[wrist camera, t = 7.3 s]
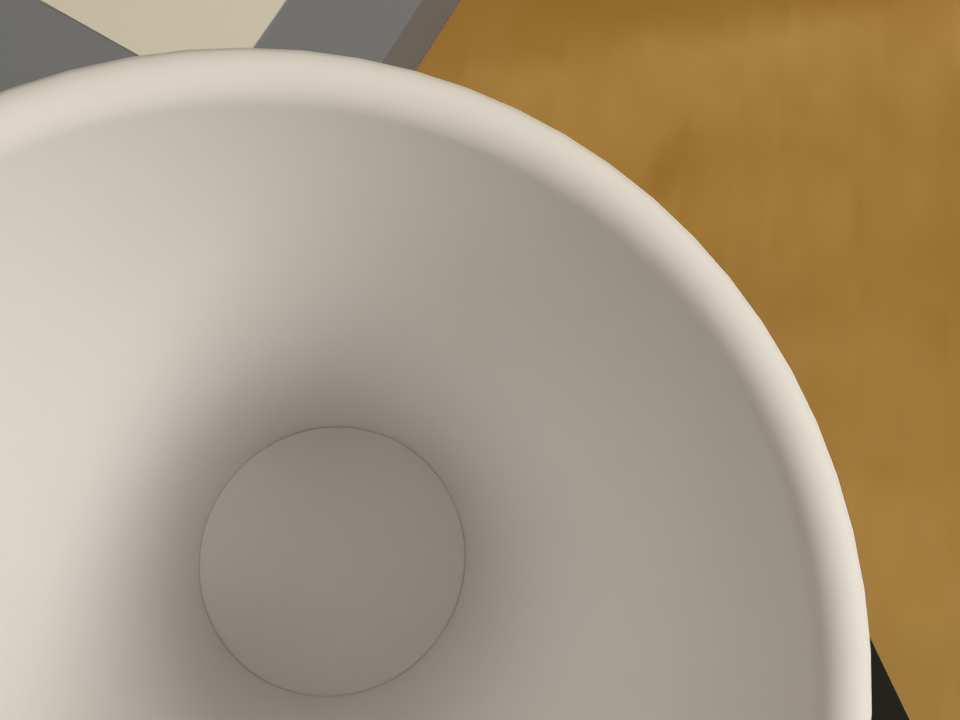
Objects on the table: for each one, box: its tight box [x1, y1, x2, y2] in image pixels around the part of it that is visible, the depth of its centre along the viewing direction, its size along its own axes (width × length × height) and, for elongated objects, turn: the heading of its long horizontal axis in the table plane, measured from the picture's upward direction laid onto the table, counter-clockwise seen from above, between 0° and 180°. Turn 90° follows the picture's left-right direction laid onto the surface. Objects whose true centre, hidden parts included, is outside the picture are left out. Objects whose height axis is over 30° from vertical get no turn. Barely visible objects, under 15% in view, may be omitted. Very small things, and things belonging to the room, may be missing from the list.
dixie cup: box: [0, 48, 872, 720], centre depth 10 cm, size 8×8×11 cm
